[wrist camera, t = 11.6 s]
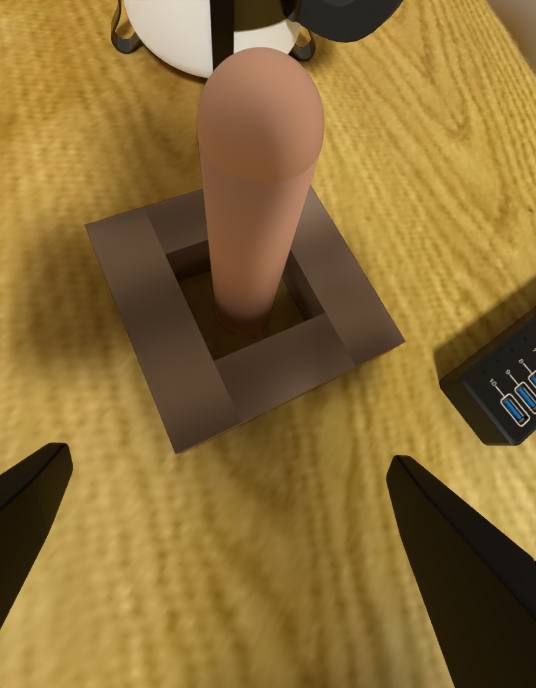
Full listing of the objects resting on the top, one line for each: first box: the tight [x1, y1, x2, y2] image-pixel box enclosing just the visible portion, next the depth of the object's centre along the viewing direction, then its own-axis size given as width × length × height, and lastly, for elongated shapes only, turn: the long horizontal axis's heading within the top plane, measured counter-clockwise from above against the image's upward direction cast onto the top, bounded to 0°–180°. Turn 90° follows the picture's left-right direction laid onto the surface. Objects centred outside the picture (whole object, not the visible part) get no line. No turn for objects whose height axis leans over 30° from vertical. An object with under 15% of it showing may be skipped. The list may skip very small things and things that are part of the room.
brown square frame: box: [85, 185, 406, 454], centre depth 18 cm, size 12×12×3 cm
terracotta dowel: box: [197, 47, 325, 334], centre depth 13 cm, size 3×3×13 cm
